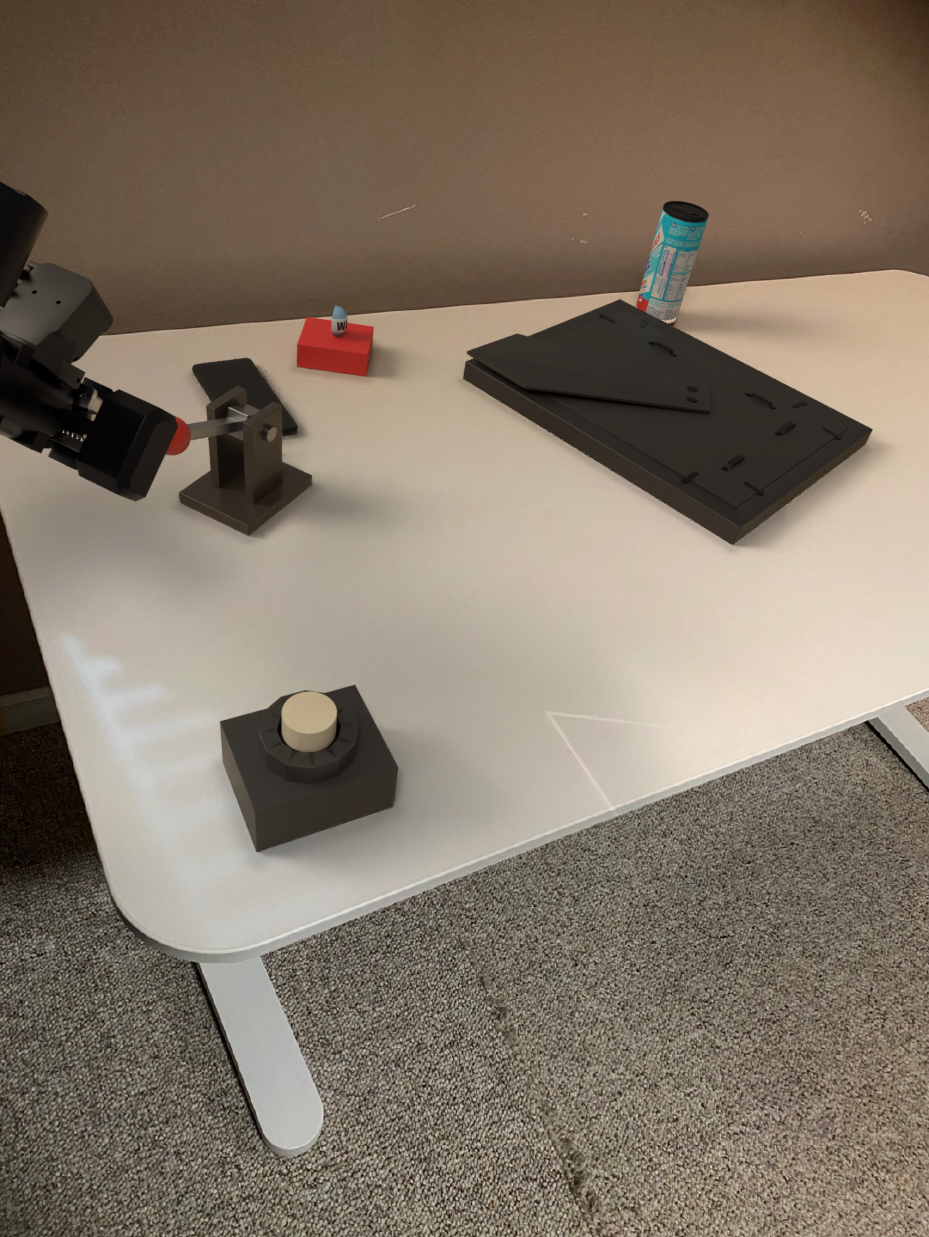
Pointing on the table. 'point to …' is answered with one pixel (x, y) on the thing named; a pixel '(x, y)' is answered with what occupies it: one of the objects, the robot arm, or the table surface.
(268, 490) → the switch bracket
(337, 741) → the block
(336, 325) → the red low topped box
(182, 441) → the power switch
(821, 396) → the table surface
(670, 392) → the picture frame
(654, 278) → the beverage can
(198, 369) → the smartphone
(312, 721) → the stop button
